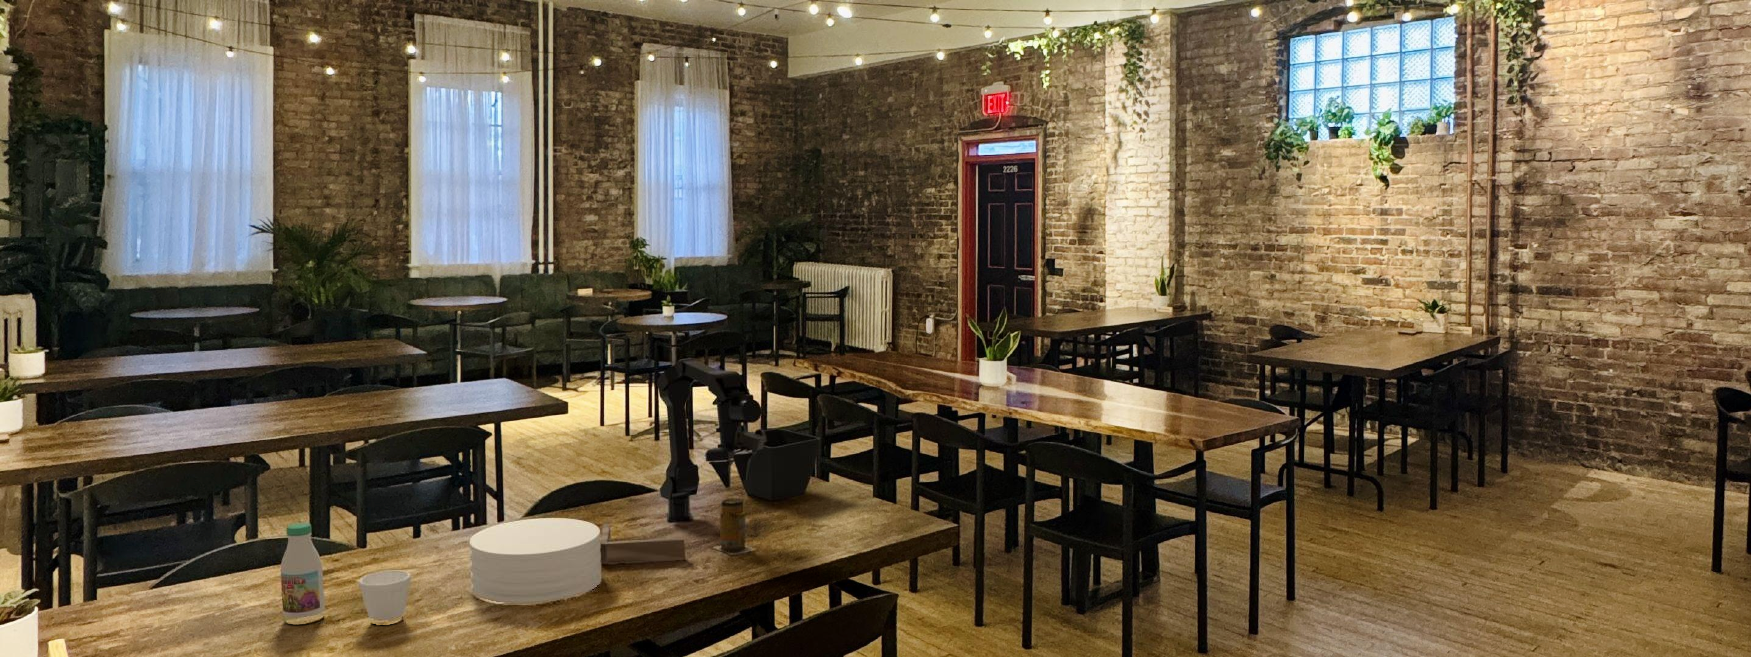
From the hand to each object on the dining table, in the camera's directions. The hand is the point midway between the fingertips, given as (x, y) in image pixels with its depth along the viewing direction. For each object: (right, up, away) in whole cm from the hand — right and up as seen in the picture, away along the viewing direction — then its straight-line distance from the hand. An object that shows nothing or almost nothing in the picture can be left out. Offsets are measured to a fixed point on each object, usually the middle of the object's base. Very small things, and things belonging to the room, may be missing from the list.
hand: (736, 484), depth 295 cm
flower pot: (+6, -9, +48) cm, 49 cm away
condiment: (0, -16, -5) cm, 16 cm away
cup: (-65, -21, -53) cm, 87 cm away
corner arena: (-22, -16, -7) cm, 28 cm away
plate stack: (-41, -19, -30) cm, 54 cm away
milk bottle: (-83, -21, -52) cm, 100 cm away
